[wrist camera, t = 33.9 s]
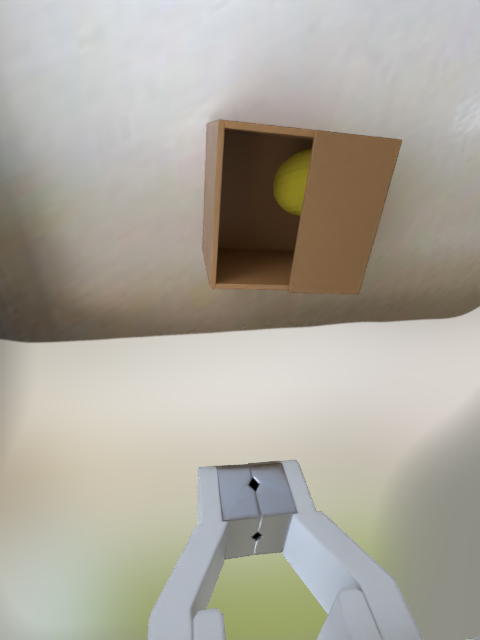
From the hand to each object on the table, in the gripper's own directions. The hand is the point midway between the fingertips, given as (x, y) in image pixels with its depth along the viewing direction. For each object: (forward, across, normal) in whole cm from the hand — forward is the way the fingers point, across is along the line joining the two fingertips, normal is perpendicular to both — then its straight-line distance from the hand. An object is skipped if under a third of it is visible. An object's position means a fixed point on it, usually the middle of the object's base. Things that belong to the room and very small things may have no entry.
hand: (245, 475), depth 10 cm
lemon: (+28, -7, -4) cm, 29 cm away
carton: (+29, -7, -4) cm, 30 cm away
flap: (+18, -10, -4) cm, 21 cm away
